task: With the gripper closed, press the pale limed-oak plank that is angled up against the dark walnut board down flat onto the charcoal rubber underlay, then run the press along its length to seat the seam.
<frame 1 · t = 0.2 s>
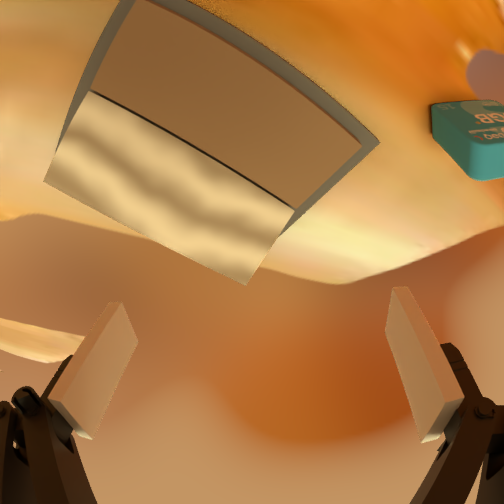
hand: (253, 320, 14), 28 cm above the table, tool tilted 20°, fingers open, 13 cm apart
floor frame: (199, 138, 36), on the table
data package: (462, 115, 31), on the table
plank: (168, 191, 36), point 5 cm above the table, hinge at 28.0°
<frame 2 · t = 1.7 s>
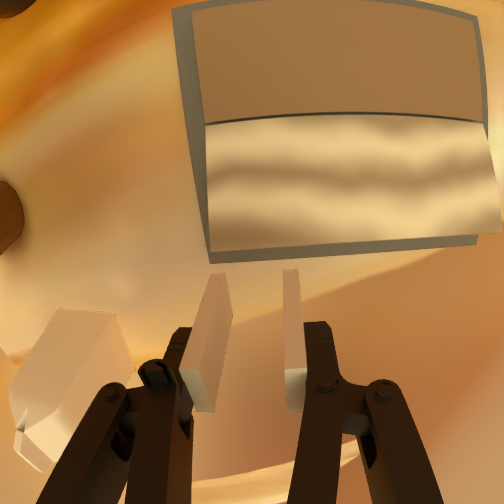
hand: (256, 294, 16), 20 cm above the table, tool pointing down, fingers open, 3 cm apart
milk: (98, 337, 47), on the table
floor frame: (354, 113, 29), on the table
plank: (369, 176, 27), point 5 cm above the table, hinge at 28.0°
flowerpot: (5, 210, 37), on the table
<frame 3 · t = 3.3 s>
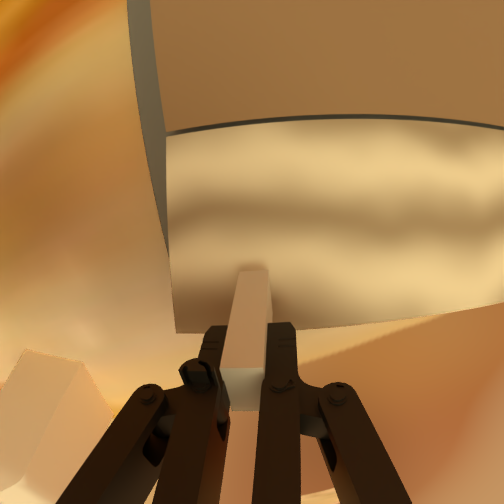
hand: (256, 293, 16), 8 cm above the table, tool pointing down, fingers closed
milk: (69, 382, 37), on the table
floor frame: (389, 116, 19), on the table
plank: (416, 216, 17), point 5 cm above the table, hinge at 27.5°, touching gripper
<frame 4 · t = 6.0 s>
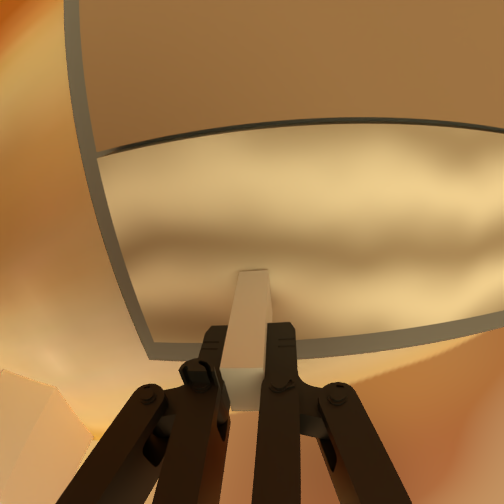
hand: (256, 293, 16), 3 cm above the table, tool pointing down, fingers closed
milk: (47, 404, 33), on the table
floor frame: (385, 119, 15), on the table
plank: (396, 234, 16), point 2 cm above the table, hinge at -0.1°
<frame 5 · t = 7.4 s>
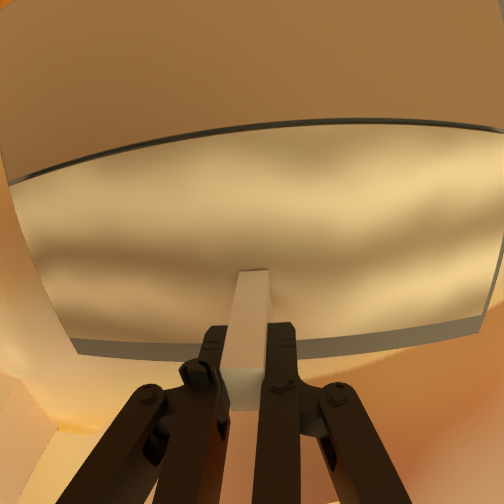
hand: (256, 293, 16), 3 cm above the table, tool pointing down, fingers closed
milk: (17, 395, 34), on the table
floor frame: (246, 127, 16), on the table
plank: (256, 244, 16), point 2 cm above the table, hinge at -0.1°
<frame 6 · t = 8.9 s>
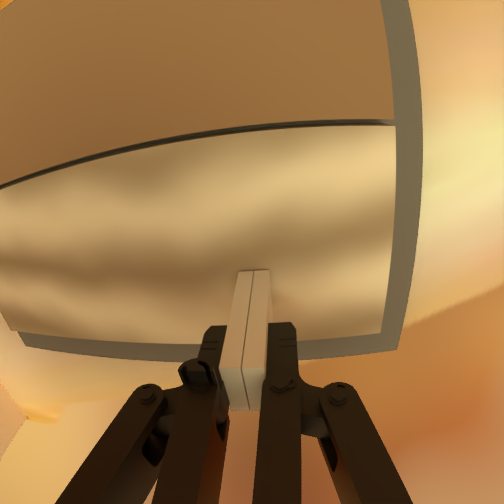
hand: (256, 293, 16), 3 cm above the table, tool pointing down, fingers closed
floor frame: (115, 151, 17), on the table
plank: (123, 256, 17), point 2 cm above the table, hinge at -0.1°, touching gripper
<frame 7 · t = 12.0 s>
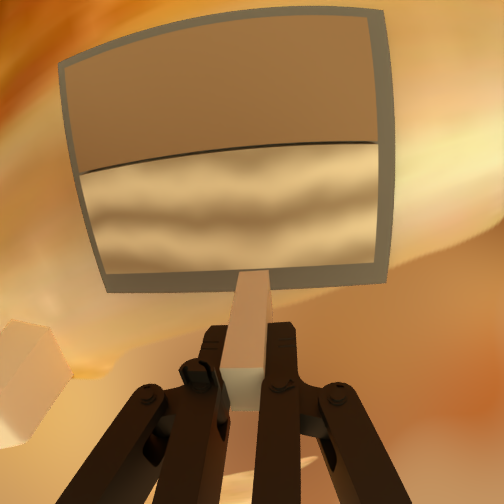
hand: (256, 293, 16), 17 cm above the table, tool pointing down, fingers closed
milk: (41, 346, 48), on the table
floor frame: (219, 148, 30), on the table
plank: (222, 211, 30), point 2 cm above the table, hinge at -0.1°
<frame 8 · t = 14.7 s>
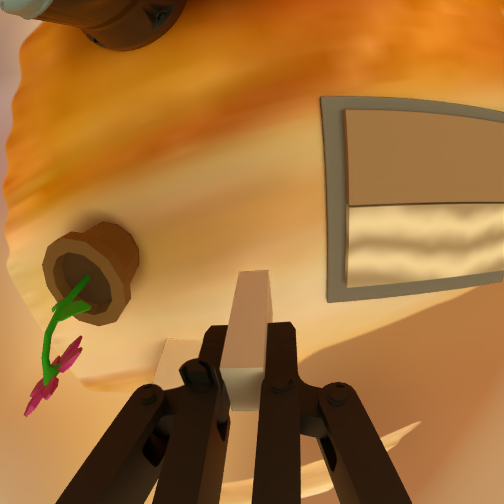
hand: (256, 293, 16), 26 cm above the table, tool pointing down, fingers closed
milk: (202, 361, 57), on the table
floor frame: (439, 197, 39), on the table
plank: (441, 240, 40), point 2 cm above the table, hinge at -0.1°
flowerpot: (112, 250, 47), on the table
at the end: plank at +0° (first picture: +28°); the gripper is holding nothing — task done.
